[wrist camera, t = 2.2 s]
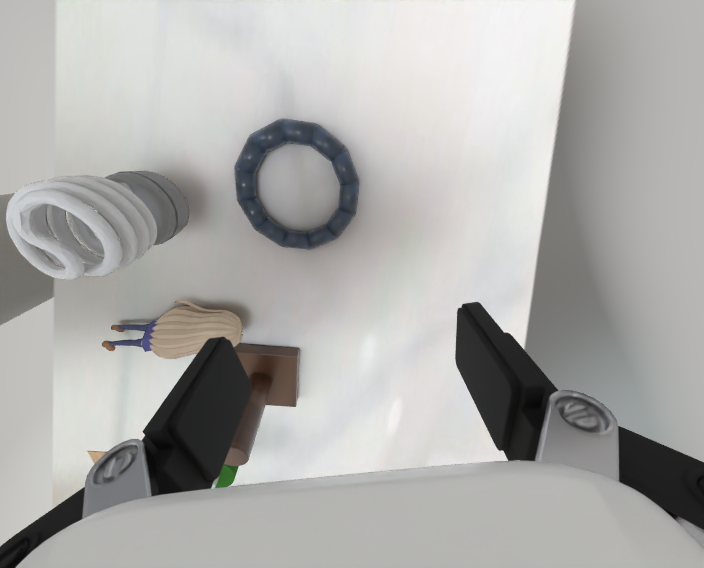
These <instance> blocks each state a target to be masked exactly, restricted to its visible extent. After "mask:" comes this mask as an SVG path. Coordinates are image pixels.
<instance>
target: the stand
mask: <svg viewBox="0 0 704 568" xmlns="http://www.w3.org/2000/svg"><path fill="white" fill-rule="evenodd" d="M234 349H235V351H236V353H237V355H238V357H239V359H240V361H241V363H242V366H243V368H244V370H245V372H246V374H247V376H248V378H249V380H250V382H251V385H252V391H251V395H250V397H249V400H248V402H247V405H246V408H245V410H244V413H243V415H242V418H241V421H240V423H239V426H238V428H237V431H236V434H235V436H234V439H233V442H232V444H231V447H230V449H229V452H228V455H227V457H226V460H225V462H224V464H226V465H230V466H240V465H243V464H245V463H247V461H248V460H249V457H250V453H251V450H252V447H253V444H254V440H255V437H256V434H257V431H258V428H259V424H260V421H261V418H262V415H263V411H264V408H265V405H274V406H290V407H296V404H297V399H298V375H299V348H289V347H276V346H264V345H252V344H239V343H238V344H237V345H236V346H235V347H234Z"/></svg>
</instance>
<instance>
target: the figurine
mask: <svg viewBox="0 0 704 568" xmlns="http://www.w3.org/2000/svg"><path fill="white" fill-rule="evenodd" d="M175 302H178V303H184V304H187V305H189V306H181V307H176V308H174V309H172V310H170V311H168V312H167V313H165V314H163V315H162V316H161V317H160V318H159V319H160V320H159V319H158V321H153V322H152V323H150V324H146V325H112V327H111V329H112V330H116V331H119V332H124V330H125V329H128V330H139V331H145V333H144V336H143V338H142V339H137V340H120V341H113V342H111V341H104V342H103V343H102V346H104V347H106V349H107V350H109V351H113V350H115V347H114V345H126V346H138V347H143V349H144V350H145V352H146V351H151V350H153V352H154V353H155V354H156V355H158V356H159V357H162V358H169V359H175V358H180V357H184V356H188V355H191V354H195V353H198V352H199V351H200V350H201V348H202V347H203V345H204V344H205V342H206V341H207V340H208V339H210V338H216V337H225V338H226V339H228V340H230V341H231V343H232V345H233V347H235V346H236V345H237V344H238V343H239V342H240V341H241V339H242V336H243V334H242V332H243V331H242V330H243V328H242V327H243V325H242V323H241V321H240V319H239V318H238V316H236V315H235V314H234V313H232V312H229V311H227V310H209V309H204V308H201V307H198V306H196V305H194V304H192V303H190V302H187V301H175ZM173 303H174V302H173Z"/></svg>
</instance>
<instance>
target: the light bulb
mask: <svg viewBox="0 0 704 568" xmlns="http://www.w3.org/2000/svg"><path fill="white" fill-rule="evenodd" d="M86 204H87V205H86ZM88 205H89V206H91V207H92V208H94V209H95V210H97V211H98V212H96V211H95V210H93V209H92V208H91V207H89V206H88ZM66 211H67V214H68V218H69V222H70V224H71V226H72V228H73V231H74V232H75V233H76V235H77V236H78V237H79V239H80V240H81V241H82V242H83V243H84V244H85V245H86V246H87V247H88V248H89V249H91V250H92V251H93V252H95V253H96V254H98V255H100V256H98V255H95V254H94V253H92V252H90V251H89V250H87V249H86V248H85V247H84V246H83V245H81V244H80V243H79V242H78V240H77V239H76V238H75V237H74V235H73V234H72V232H71V230H70V229H69V226H68V223H67V220H66ZM46 212H47V213H46ZM47 217H48V221H49V224H50V226H51V229H52V231H53V233H54V235H55V236H56V238H57V239H58V240H57V239H55V238H54V237H53V236H52V234H51V232H50V229H49V227H48V224H47ZM188 218H189V208H188V204H187V201H186V198H185V197H184V195H183V194H182V192H181V191H180V189H179V188H178V187H177V186H176V185H175V184H174V183H172V182H171V181H170V180H168V179H167V178H165V177H163V176H161V175H159V174H157V173H153V172H148V171H129V172H118V173H115V174H112V175H109V176H107V177H105V178H101V177H96V176H87V175H85V176H75V177H72V176H64V177H57V178H53V179H50V180H47V181H39V182H34V183H31V184H28V185H26V186H24V187H23V188H21V189H20V190H18V191H17V192H16V193H15V194H14V195H13V197H12V198H11V199H10V201H9V203H8V206H7V212H6V222H7V228H8V231H9V235H10V237H11V238H12V240H13V242H14V244H15V245H16V247H17V249H18V250H19V252H20V253H21V254H22V255H23V256H24V257H25V258H26V259H27V260H28V261H29V262H30V263H31V264H32V265H33V266H35V267H36V268H37V269H39V270H40V271H42V272H43V273H45V274H47V275H49V276H51V277H54V278H59V279H64V280H72V279H76V278H78V277H80V276H81V275H85V276H104V275H108V274H110V273H112V272H113V271H115V270H116V269H121V268H124V267H126V266H128V265H129V264H130V263H131V262H133V261H134V260H136V259H139V258H140V257H141V256H143V255H144V253H145V252H146V251H147V250H148V249H150V248H151V247H152V246H153V245H158V244H162V243H164V242H165V241H167V240H169V239H171V238H172V237H174V236H175V235H176V234H177V233H179V232H180V231H181V230H182V229H183V228H184V227H185V226H186V225H187V222H188ZM89 227H90V228H91V229H92V230H93V232H94V233H95V234H96V235H97V236H98V238H99V239H98V238H97V237H96V236H95V235H94V233H93V232H92V231H91V230H90V228H89ZM117 236H118V237H119V238H120V240H121V244H120V242H119V239H118V237H117ZM38 247H39V248H42V249H43V250H44V251H45V252H46V253H47V254H48V255H49V256H50V257H51V258H52V259H53V260H54V261H56V262H57V263H59V264H60V265H62V266H63V267H61V266H59V265H56V264H55V263H53V262H52V261H51V260H49V259H48V258H47V257H46V256H45V255H44V254H43V253H42V252H41V251H40V250H39V248H38ZM83 262H84V263H83ZM64 267H65V268H64Z"/></svg>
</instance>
